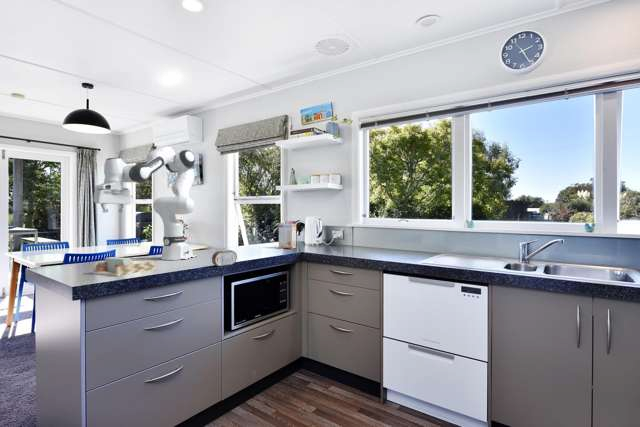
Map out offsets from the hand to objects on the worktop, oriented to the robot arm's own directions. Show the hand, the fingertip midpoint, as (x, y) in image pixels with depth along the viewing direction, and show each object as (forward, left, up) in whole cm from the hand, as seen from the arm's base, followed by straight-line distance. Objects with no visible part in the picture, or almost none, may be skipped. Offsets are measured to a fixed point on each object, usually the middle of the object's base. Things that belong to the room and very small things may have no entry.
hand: (113, 212), depth 186 cm
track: (+10, +20, -29) cm, 37 cm away
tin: (-24, +55, -29) cm, 67 cm away
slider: (+14, +20, -28) cm, 38 cm away
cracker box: (-118, +50, -29) cm, 131 cm away
